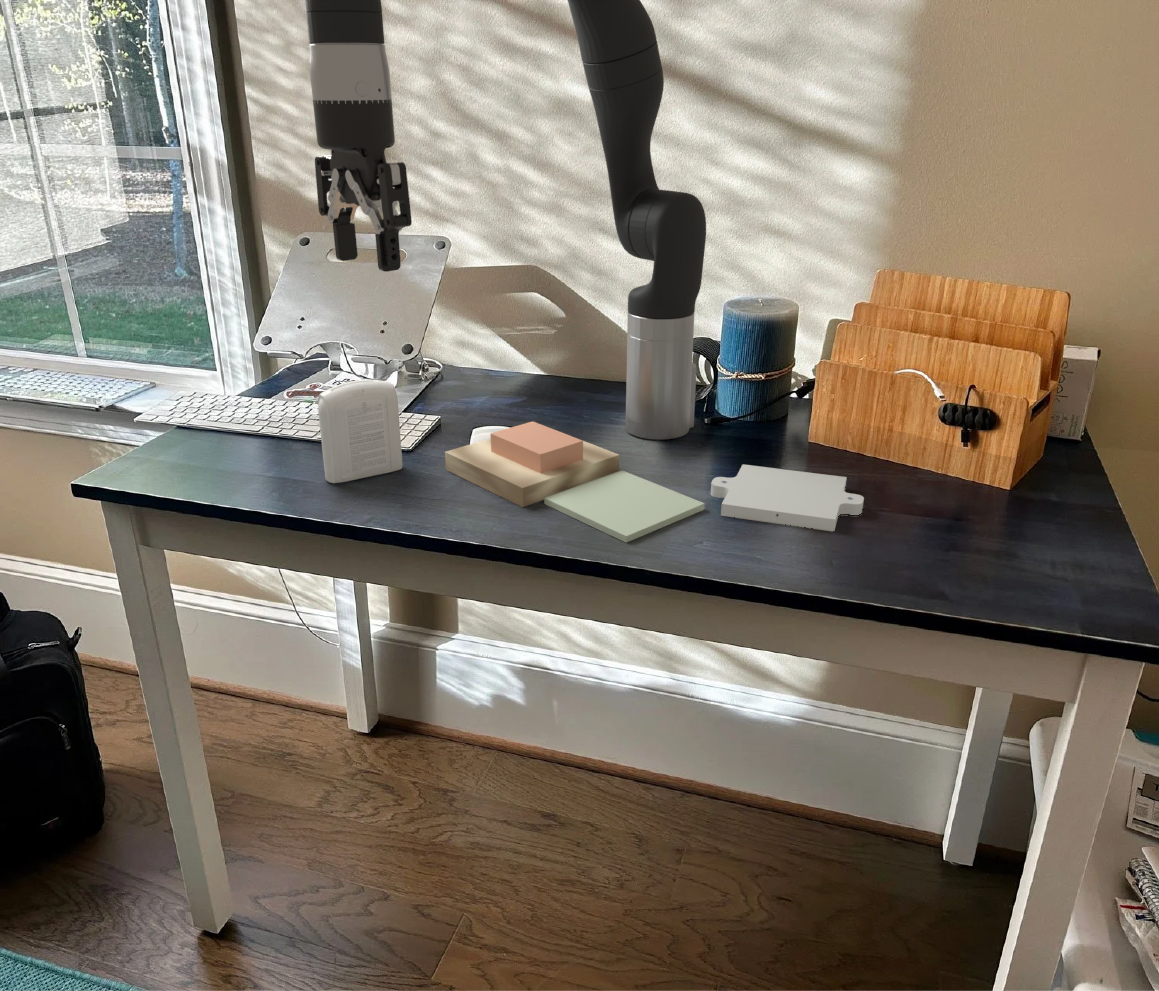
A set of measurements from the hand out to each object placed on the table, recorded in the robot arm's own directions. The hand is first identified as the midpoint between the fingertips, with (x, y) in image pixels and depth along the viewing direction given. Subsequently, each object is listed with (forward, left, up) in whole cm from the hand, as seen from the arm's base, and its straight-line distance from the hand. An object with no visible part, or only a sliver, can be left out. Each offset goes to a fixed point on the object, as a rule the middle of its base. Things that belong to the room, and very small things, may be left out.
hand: (367, 264), depth 99 cm
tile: (-21, +1, -27) cm, 34 cm away
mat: (-22, +16, -29) cm, 40 cm away
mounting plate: (-38, +28, -30) cm, 56 cm away
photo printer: (-5, -14, -29) cm, 33 cm away
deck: (-21, 0, -29) cm, 36 cm away
